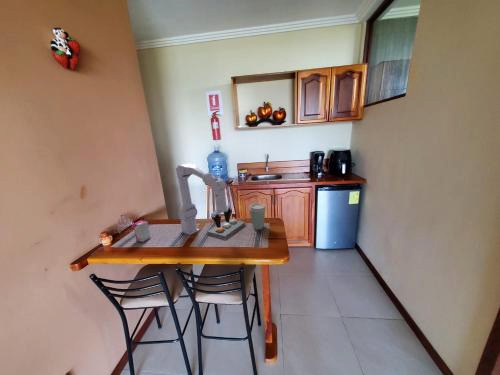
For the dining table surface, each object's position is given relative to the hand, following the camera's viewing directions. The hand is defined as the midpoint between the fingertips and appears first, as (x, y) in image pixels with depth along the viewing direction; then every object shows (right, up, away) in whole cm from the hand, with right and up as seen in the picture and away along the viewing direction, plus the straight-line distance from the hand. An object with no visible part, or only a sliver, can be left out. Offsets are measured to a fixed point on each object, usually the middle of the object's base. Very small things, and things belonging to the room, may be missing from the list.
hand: (223, 224), depth 110 cm
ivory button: (0, -5, +16) cm, 17 cm away
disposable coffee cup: (+20, -5, +16) cm, 27 cm away
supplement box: (-50, -11, +11) cm, 53 cm away
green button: (+4, -3, +21) cm, 22 cm away
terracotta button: (-3, -6, +11) cm, 13 cm away
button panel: (0, -6, +16) cm, 18 cm away
